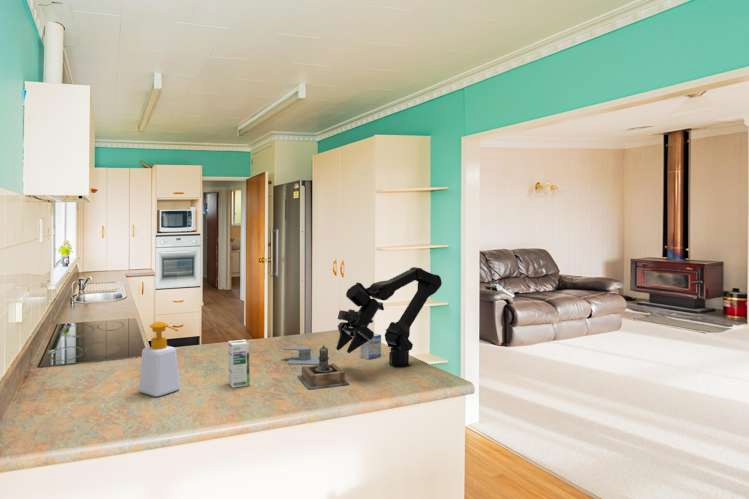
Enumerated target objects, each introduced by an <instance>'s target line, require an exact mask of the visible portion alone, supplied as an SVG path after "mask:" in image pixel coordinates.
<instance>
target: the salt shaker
mask: <svg viewBox="0 0 749 499" xmlns="http://www.w3.org/2000/svg"><path fill="white" fill-rule="evenodd" d="M319 355H320V357H319V358H318V359H319V367H317V368H316V369H315V371H316V374H321V373H331V371H332V368H330V367H329V366H328V364H329V359H330V357H329V349H328V348H327V347H326V346H325V344H323V345H322V347H320V348H319Z"/></svg>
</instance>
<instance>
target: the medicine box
mask: <svg viewBox="0 0 749 499" xmlns="http://www.w3.org/2000/svg"><path fill="white" fill-rule="evenodd" d="M359 349H360V350H359V357H360V358H361V359H364V358H365V360H368V359H369V360H372V359H375V358H378V357H380V356H382V334H380V333H375V332H374V337H373V338H372V340H369V341H368V342H366V343H364V344H363V345H361V346H360V347H359ZM371 358H372V359H371Z"/></svg>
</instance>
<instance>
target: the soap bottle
mask: <svg viewBox="0 0 749 499" xmlns="http://www.w3.org/2000/svg"><path fill="white" fill-rule="evenodd" d="M149 328H151V330H152V332H153V333H155V334H156V335H155V337H153V338H151V339H150V341H151V343H150V344H151V346H150V347H149V346H148V347H144V348H143V349H142V351H141V360H140V373H139V381H138V382H139V384H138V391H139V392H140V393H142V394H146V395H149V396H152V397H162V396H163V395H166V394H170V393H173V392H176V391H179V390H180V388H181V380H180V379H181V378H180V371H179V365H178V364H179V363H178V353H177V349H176V347H173V346H170V345H168V339H167V337H165V336H164V337H163V335H162V333H163V332H165V331H166V328H169V329H172V330H173V331H175V332H179V330H178V328H175V327H172V326H170V325H169V324H167V323H166V322H164V321H155V322H153V323H152V324H150V325H149Z"/></svg>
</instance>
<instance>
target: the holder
mask: <svg viewBox="0 0 749 499" xmlns="http://www.w3.org/2000/svg"><path fill="white" fill-rule="evenodd" d="M328 366H329V367H330V368H332V371H331V373H321V374H316V371H315V369H316V368H317V367H319V365H301V375H297V379H298V380H299V381H300V382H301V383H302V384H303V385H304V387H306V389H307V390H317V389H327V388H335V387H344V386H350V382H348V380H346V372H345V371H344V370H343V369H341V368H340V367H339V366H338V365H337V364H336V363H333V362H331V363H328Z"/></svg>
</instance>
